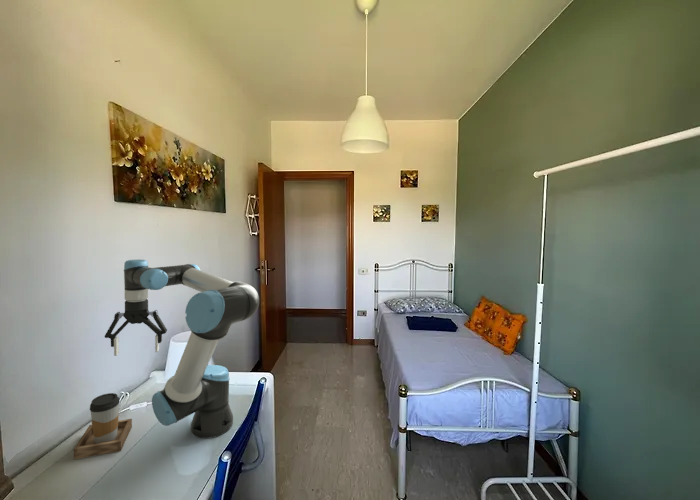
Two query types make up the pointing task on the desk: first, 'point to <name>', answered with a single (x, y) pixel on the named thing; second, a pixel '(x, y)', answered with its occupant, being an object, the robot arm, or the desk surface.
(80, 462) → the desk surface
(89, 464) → the desk surface
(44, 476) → the desk surface
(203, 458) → the desk surface
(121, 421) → the tray
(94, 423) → the coffee cup
